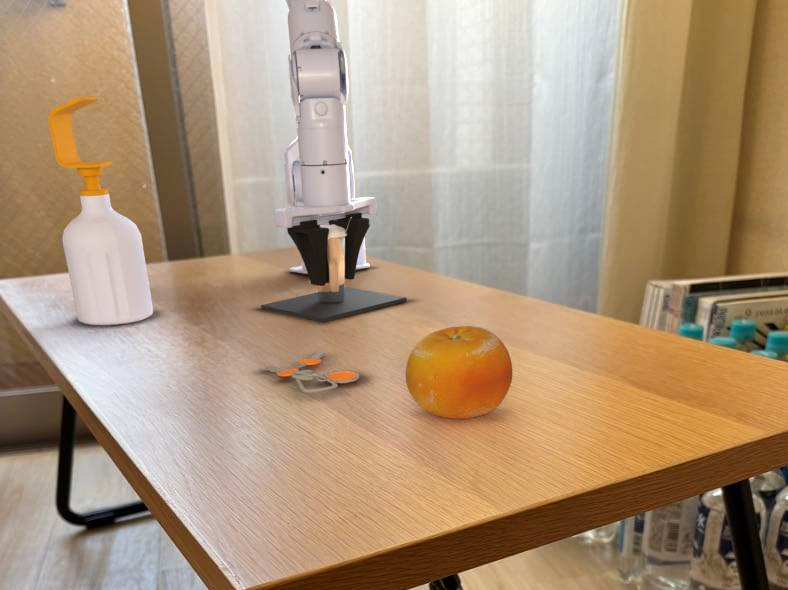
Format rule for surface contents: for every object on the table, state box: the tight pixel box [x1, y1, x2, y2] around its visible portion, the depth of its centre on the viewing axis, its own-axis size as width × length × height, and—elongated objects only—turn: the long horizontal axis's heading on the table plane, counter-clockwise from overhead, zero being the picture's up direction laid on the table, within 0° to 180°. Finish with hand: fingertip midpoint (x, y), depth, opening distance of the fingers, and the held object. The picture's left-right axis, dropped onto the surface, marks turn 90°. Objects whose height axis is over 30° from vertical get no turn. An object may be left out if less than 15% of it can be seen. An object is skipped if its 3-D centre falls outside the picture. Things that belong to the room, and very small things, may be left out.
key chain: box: [265, 350, 360, 394], centre depth 85 cm, size 13×7×1 cm, turn 24°
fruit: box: [405, 325, 513, 420], centre depth 73 cm, size 8×8×8 cm
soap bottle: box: [48, 95, 154, 327], centre depth 105 cm, size 9×9×25 cm
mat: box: [260, 286, 408, 323], centre depth 113 cm, size 14×12×1 cm
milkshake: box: [316, 217, 352, 303], centre depth 110 cm, size 4×5×10 cm
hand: (332, 281), depth 112 cm, fingers closed on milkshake, 4 cm apart
